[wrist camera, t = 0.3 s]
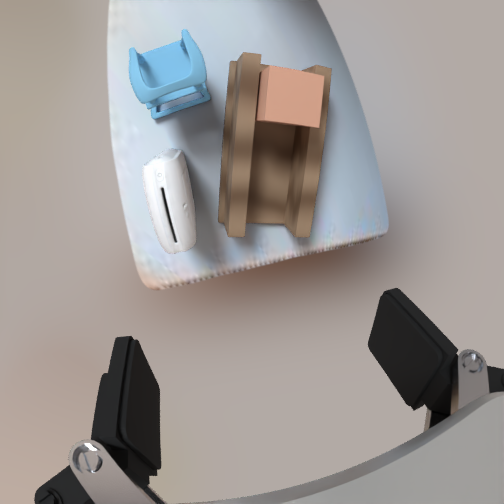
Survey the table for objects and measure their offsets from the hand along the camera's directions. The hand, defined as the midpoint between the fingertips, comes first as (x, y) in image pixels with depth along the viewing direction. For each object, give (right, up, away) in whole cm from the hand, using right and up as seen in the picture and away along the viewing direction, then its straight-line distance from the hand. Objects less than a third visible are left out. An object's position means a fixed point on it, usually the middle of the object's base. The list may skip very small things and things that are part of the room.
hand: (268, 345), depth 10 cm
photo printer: (-11, +12, +26) cm, 31 cm away
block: (+2, +23, +22) cm, 32 cm away
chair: (-11, +25, +20) cm, 33 cm away
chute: (+1, +18, +26) cm, 31 cm away
